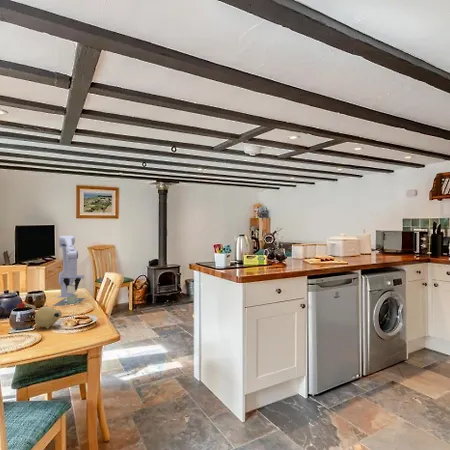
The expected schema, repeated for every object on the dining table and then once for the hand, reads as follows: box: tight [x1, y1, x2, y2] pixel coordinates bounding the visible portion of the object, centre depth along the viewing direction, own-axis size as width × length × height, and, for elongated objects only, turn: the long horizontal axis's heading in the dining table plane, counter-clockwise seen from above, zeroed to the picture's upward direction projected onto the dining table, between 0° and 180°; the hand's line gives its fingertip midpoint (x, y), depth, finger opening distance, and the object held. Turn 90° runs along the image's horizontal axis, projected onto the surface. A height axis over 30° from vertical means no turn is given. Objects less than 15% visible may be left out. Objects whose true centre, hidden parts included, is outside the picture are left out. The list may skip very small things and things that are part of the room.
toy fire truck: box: [16, 301, 37, 311], centre depth 169 cm, size 3×14×10 cm, turn 84°
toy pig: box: [34, 306, 63, 330], centre depth 159 cm, size 10×12×11 cm
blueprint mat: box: [52, 297, 86, 307], centre depth 210 cm, size 20×14×1 cm
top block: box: [67, 284, 78, 294], centre depth 206 cm, size 4×4×4 cm
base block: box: [66, 295, 78, 304], centre depth 206 cm, size 4×4×4 cm
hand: (72, 289), depth 206 cm, fingers closed on top block, 4 cm apart
